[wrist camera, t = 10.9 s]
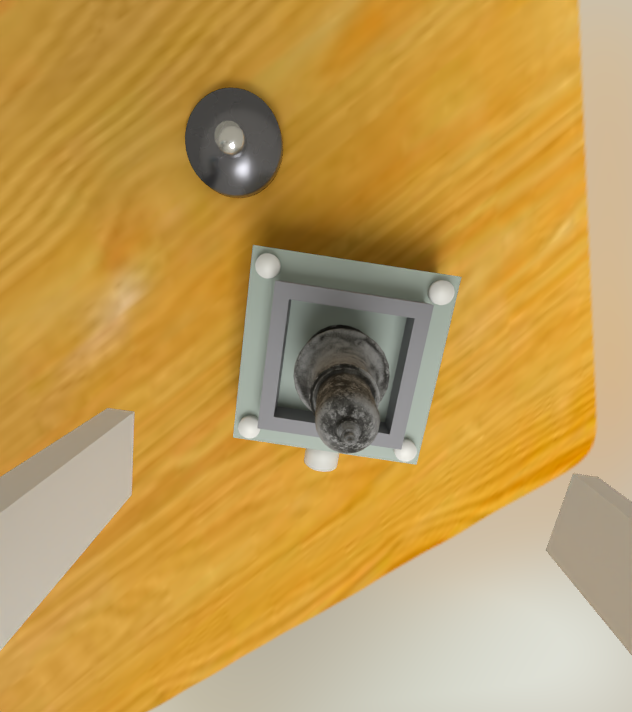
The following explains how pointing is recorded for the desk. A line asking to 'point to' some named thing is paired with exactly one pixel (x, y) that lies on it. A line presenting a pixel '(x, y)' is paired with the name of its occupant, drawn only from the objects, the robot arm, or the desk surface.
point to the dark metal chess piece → (343, 386)
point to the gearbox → (340, 307)
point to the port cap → (234, 142)
